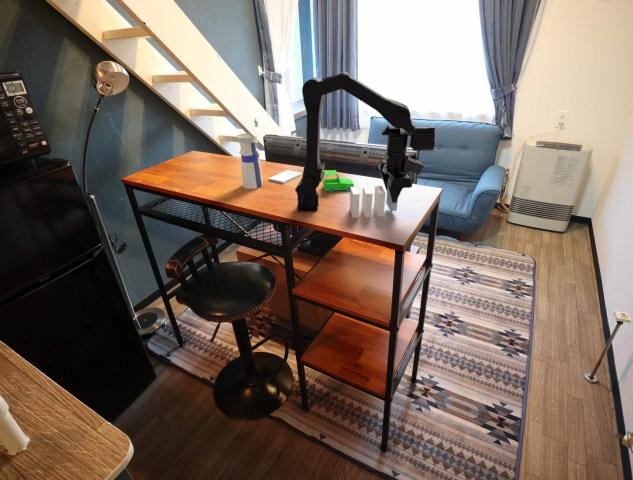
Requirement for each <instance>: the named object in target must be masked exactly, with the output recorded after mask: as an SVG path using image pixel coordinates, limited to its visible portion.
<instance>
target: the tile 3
mask: <svg viewBox="0 0 633 480" xmlns="http://www.w3.org/2000/svg"><path fill="white" fill-rule="evenodd" d="M386 195H387V192H386V191H385V190H384V188H383V186H382V185H375V187H374V199H373V200H374V201H373V211H374V212H375V215H376V217H377V218H379V217H385V216H384V215H385V204H386Z"/></svg>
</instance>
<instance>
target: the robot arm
mask: <svg viewBox="0 0 633 480" xmlns="http://www.w3.org/2000/svg"><path fill="white" fill-rule="evenodd" d="M340 90H343V91H344V92H347V93H348V94H350V95H351V96H353V97H354V98H356V99H358V100H359V101H361V102H362V103H364V104H366V105H368V107H370V108H372V109H374V110H375V111H377V112H378V113H379V114H380V115H381V117H382V118H383V119H384V120H385V121H386V122H387V123H388V124H387V125H386V126H385V128H383V129H382V130H381V136H387V141H386V151H384V156H385V158H384V159H380V160H379V162H378V165H377V166H378V170H379V171H380V172H379V173H380V176H381V178H382V182H383V184H384V187H385V190H386V191H385V192H387V188H388V189H389V192H390V196H391V199H392V203H396V202H397V199H398V200H399V197H400V195H401V192H402V191H403V189H408V188H409V189H410V188H412V187H413V181H414V180H413V179H412V178H411V177H410V176H409V175H408V174H407V173H408V171H409V172H411V173H413V174H416V175H418V176H419V175H421V173H422V172H423V170H424V167H425V164H424V163H423V162H422V161H421V160H419V159H418V156H417V155H416V154H414V153H410V154H409V155H408V154H407V150H408V149H407V147H409V148H411V149H412V151H414V152H433V151H434V148H435V144H436V139H435V137H436V128H435V126H433V125H431V126H429V125H428V126H416V125H415V122H413V121H412V119H411V112H410V109H409V107H408V106H407V105H406V104H404V103H401V102H399V101H397V100H394V99H390V98H388V97H385V96H383V95H381V94H380V93H378V92H377V91H375V90H373V89H372V88H371V87H369V86H368V85H366V84H364V83H363V82H361V81H360V80H358V79H356V78H355V77H353V76H351V74H350V73H349V72H346V71H341V72H340V73H338V74H335V75H331V76H328V77H324V78H320V77H318V76H316V77H312V78H309V79H308V80H306V81H305V82H304V83H303V85H302V89H301V92H302V100H303V104H304V108H305V109H304V110H305V113H306V140H305V141H306V142H305V143H306V146H305V147H306V151H305V152H306V156H305V164H304V167H303V171H302V175H301V179H300V180H299V182H298V183H297V186H296V187H295V189H294V190H295V193H296V195H297V212H317V211H318V208H319V193H318V192H317V188H318V187H319V186H320V183H323V177H324V178H325V176H326V174H324V171H325V165H326V163H325V162H324V163H321V160H320V159H321V158H320V147H321V146H320V144H321V141H320V140H321V114H322V113H321V112H322V108H323V104H324V99H325V96H326V95H329V94H331V93H333V92H336V91H340ZM389 124H390V125H391V126H392V127H391V126H390V125H389ZM401 129H402V130H401ZM408 138H409V139H408ZM407 145H408V146H407ZM397 203H398V202H397Z"/></svg>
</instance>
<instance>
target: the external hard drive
mask: <svg viewBox="0 0 633 480" xmlns="http://www.w3.org/2000/svg"><path fill="white" fill-rule="evenodd" d="M302 175H303V172H299V171H295V170H290V169H286V170H284V171H282V172H279V173H278V174H275V175H273V176H271V177H268V178H267V180H268V181H270V182H273V183H277V184H281V185H285V184H286V183H289V182H291V181H293V180H295V179H297V178H300V177H302Z"/></svg>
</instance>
